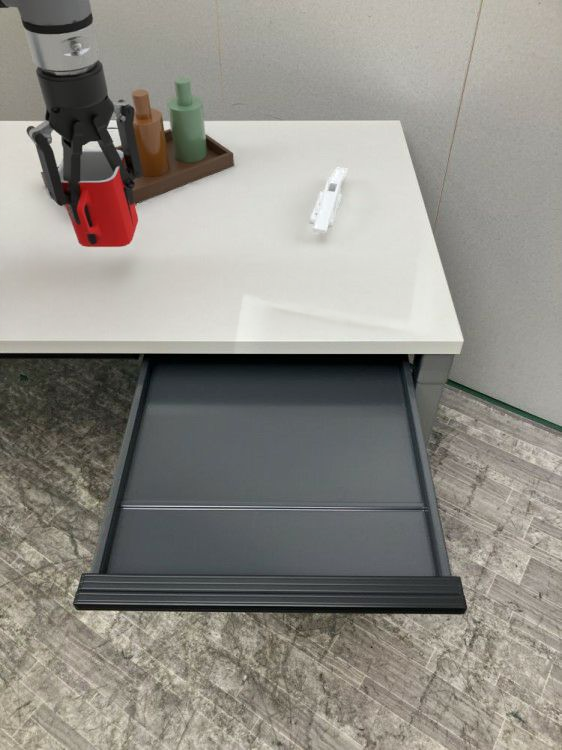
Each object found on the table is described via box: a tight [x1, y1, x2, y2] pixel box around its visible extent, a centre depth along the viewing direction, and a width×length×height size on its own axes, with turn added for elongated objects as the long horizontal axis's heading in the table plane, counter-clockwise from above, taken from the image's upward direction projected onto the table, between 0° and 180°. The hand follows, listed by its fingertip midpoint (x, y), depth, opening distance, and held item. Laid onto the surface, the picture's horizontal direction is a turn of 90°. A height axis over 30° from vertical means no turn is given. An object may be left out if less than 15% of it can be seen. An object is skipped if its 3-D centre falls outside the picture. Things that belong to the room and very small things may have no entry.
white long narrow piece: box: [308, 166, 349, 235], centre depth 102 cm, size 4×20×6 cm, turn 166°
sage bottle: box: [166, 76, 207, 162], centre depth 110 cm, size 6×6×14 cm
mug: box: [57, 148, 139, 248], centre depth 82 cm, size 12×8×11 cm
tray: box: [40, 128, 235, 208], centre depth 110 cm, size 32×16×3 cm, turn 128°
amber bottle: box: [131, 89, 170, 177], centre depth 106 cm, size 6×6×14 cm
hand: (108, 231), depth 86 cm, fingers closed on mug, 5 cm apart
